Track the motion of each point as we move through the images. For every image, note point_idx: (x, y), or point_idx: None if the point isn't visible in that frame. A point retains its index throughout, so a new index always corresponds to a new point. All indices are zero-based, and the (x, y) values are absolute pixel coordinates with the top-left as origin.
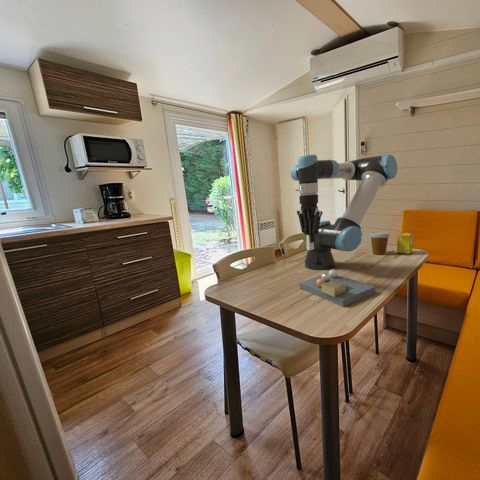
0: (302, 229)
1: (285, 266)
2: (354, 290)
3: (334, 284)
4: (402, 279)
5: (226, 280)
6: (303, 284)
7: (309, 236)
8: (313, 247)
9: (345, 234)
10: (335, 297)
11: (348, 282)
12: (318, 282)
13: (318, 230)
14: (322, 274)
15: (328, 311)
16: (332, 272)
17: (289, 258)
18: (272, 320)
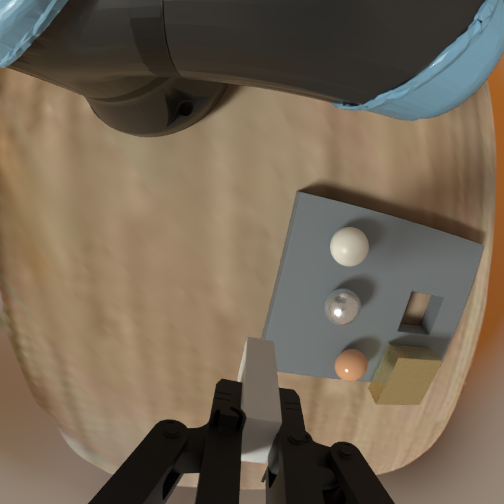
0: (164, 484)
1: (47, 180)
2: (445, 314)
3: (413, 381)
4: (487, 86)
5: (41, 400)
6: (280, 371)
7: (266, 449)
8: (273, 351)
9: (469, 95)
10: None
11: (414, 261)
12: (351, 381)
13: (368, 468)
14: (334, 319)
15: (398, 409)
16: (356, 264)
17: (10, 89)
18: None
